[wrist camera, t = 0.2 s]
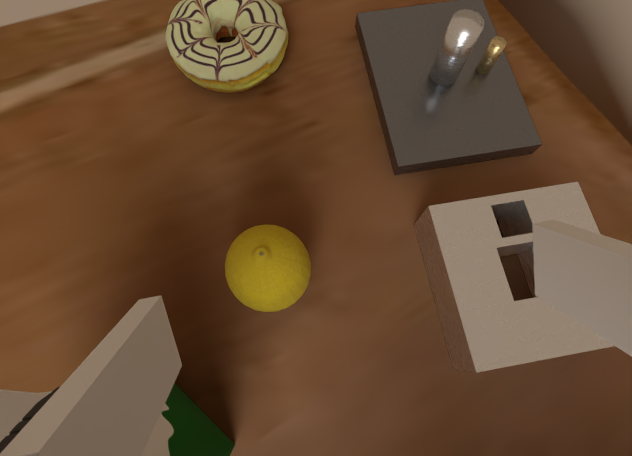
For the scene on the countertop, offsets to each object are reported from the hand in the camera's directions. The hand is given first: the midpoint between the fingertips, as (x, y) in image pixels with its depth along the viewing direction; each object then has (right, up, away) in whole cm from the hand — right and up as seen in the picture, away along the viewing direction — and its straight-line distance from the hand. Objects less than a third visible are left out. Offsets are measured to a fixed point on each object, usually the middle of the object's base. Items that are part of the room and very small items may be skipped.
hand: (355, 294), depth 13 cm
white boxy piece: (+13, -2, +16) cm, 20 cm away
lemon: (-4, -2, +16) cm, 16 cm away
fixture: (+10, +15, +21) cm, 28 cm away
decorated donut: (-9, +19, +23) cm, 31 cm away
